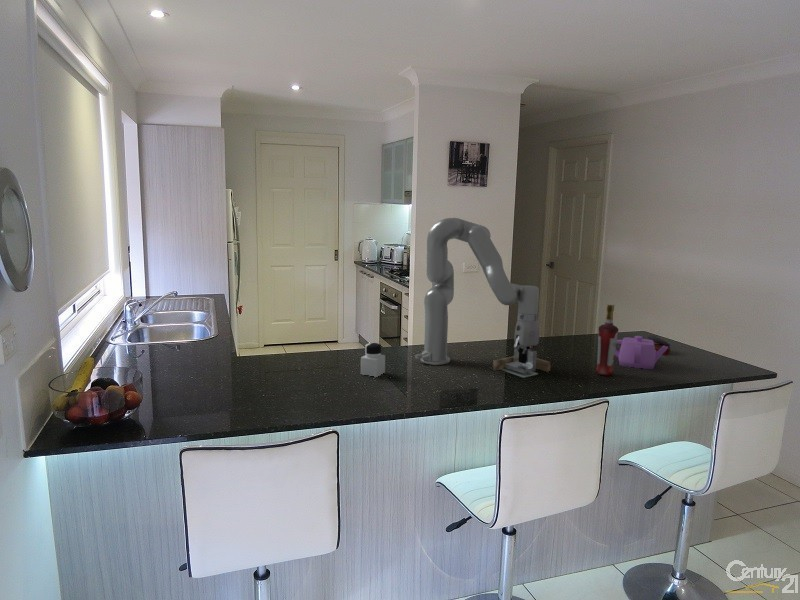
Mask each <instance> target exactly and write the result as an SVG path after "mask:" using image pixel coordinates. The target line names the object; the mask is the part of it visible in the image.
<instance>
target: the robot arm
mask: <svg viewBox="0 0 800 600" xmlns="http://www.w3.org/2000/svg"><path fill="white" fill-rule="evenodd" d="M453 239H455V240H457V241H458V240H459V241H462V242H465V243H468V246H469V247H470V249H471V251H472V253H473V254H474V256H475V258H476V260H477V261H478V263H479V264H480V265H479V266H481V268H482V272H483V275H484V276H485V278H486V280H487V283H488V285H489V287H490V289H491V290H492V292H493V295H494V296H495V297H496V299H497V301H498V302H499V303H500V304H502V305H504V306H511V305H514V303H516V302H517V303H518V308H517V309H518V310H517V321H516V323H515V324H516V325H515V328H514V336H513V337H514V339H513V342H514V345H513V349H514V348H515V349H517V350H518V352H519V362H521V363H526V354H525V349H526V348H527V349H531V350H534V348H535V347H536V346H537V345H538V344H539V342H540V325H539V324H540V323H539V319H538V310H539V298H540V289H539V287H538V286H535V285H528V284H527V285H521V284H517V283H511V281H510V280H509V278H508V276H507V274H506V272H505V269H504V266H503V265H504V264H503V263H504V262H503V259H502V256H501V254H500V252H499V251H498V249H497V248H496V246H495V245H494V243H493V240H492V239H491V232H490V230H489V228H488V227H486V226H485V225H481V224H477V223H474V222H472V221H468V220H465V219H461V218H458V217H448V218H447V217H446V218H443V219H441V220H438V221H437V222H436V223H434V225H432V226H431V228H430V229H429V231H428V233H427V239H426V276H427V277H426V278H427V279H428V281H429V282H431V286H432V287H431V288H429V289H428V290H427V292H426V294H425V296H424V299H423V300H424V303H423V305H424V342H423V343H424V345H423V347H424V349H423V350H422V351H421V353H417V354H415V355H414V359H415V360H420V362H421V363H423V364H426V365H430V366H431V365H432V366H433V365H434V366H440V365H441V366H442V365H448V364H449V363H451V358H450V357H449V356H448V355H447V353H448V352H447V351H448V333H449V329H448V328H449V326H448V325H449V324H448V323H449V312H448V307H449V306H448V305H450V304H451V303H452V301H453V300H454V295H455V294H454V293H455V272H454V271H455V270H454V266H453V264H452V263H451V262H450V260H449V259H448V257H449V256H448V254H449V251H448V250H449V249H448V242H449V241H450V240H453ZM521 347H523V349H522V348H521Z"/></svg>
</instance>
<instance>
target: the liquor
mask: <svg viewBox="0 0 800 600" xmlns="http://www.w3.org/2000/svg"><path fill="white" fill-rule="evenodd" d="M614 311H615V305H614V304H606V317H605V322H604V324H601V325H600V326H598V333H597V334H598V336H597V360H596V361H597V362H596V369H595V371H596V373H597V374H598V375H599V376H602V375H603V377H609V376H611V375H613V374H614V373H615V372H614V365H615V364H614V363H615V357H616V356H615V349H616V350H617V344H618V343H617V340H618V337H619V336H618V335H619V328H618V327H617V326H616V325H614Z"/></svg>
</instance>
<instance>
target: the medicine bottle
mask: <svg viewBox="0 0 800 600" xmlns="http://www.w3.org/2000/svg"><path fill="white" fill-rule="evenodd" d="M364 352H365V355H363V356H360V375H361V374H362V375H361V376H364V375H369V376H368V377H370V376H374V377H373V378H376V377H377V378H379V377H380V376H382V375H383V373H384V374H385V373H386V355H385V354H382V345H381V344H380V343H378V342H369V343H366V344H365V349H364ZM381 374H382V375H381ZM378 376H379V377H378Z"/></svg>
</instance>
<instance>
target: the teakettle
mask: <svg viewBox="0 0 800 600" xmlns="http://www.w3.org/2000/svg"><path fill="white" fill-rule="evenodd" d="M616 344H617V345H618V344H620V348H619V350H618V349H617V348H616V349H615V356H614V357H617V358H618V364H619V366H620V365H622V366H621V367H625V366H628V367H627V368H631V367H634V368H633V369H639V368H643V369H642V370H650V369H652V370H654V368H655V365H656V362H658V360H659V359H660V358H661V357H662V356H663V355H662V354H663V353H664V352H665V351H666V350H667V348H668V347H667V346H664V345H663V347H662V348H660V349H659V350H658V351H657V352H655V347H654V344H655V342H653V340H649V339H648V338H644V337H643V336H642V335H634V337H627V336H626V337H623V338H622V339H617V343H616Z"/></svg>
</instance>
